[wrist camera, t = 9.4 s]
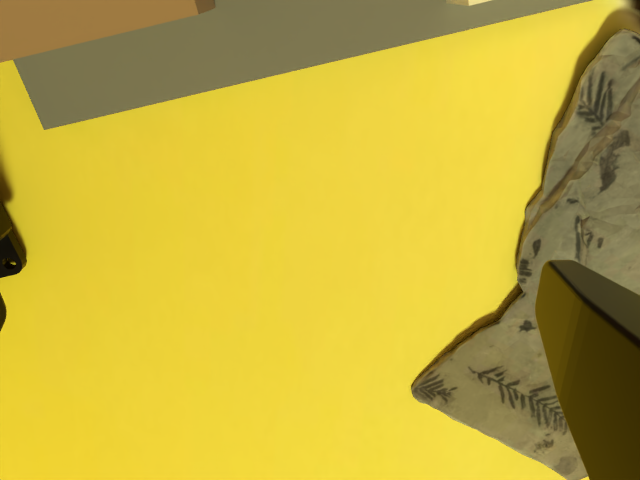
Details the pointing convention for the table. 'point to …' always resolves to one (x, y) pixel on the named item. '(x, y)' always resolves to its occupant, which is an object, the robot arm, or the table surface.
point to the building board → (208, 43)
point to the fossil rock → (556, 244)
